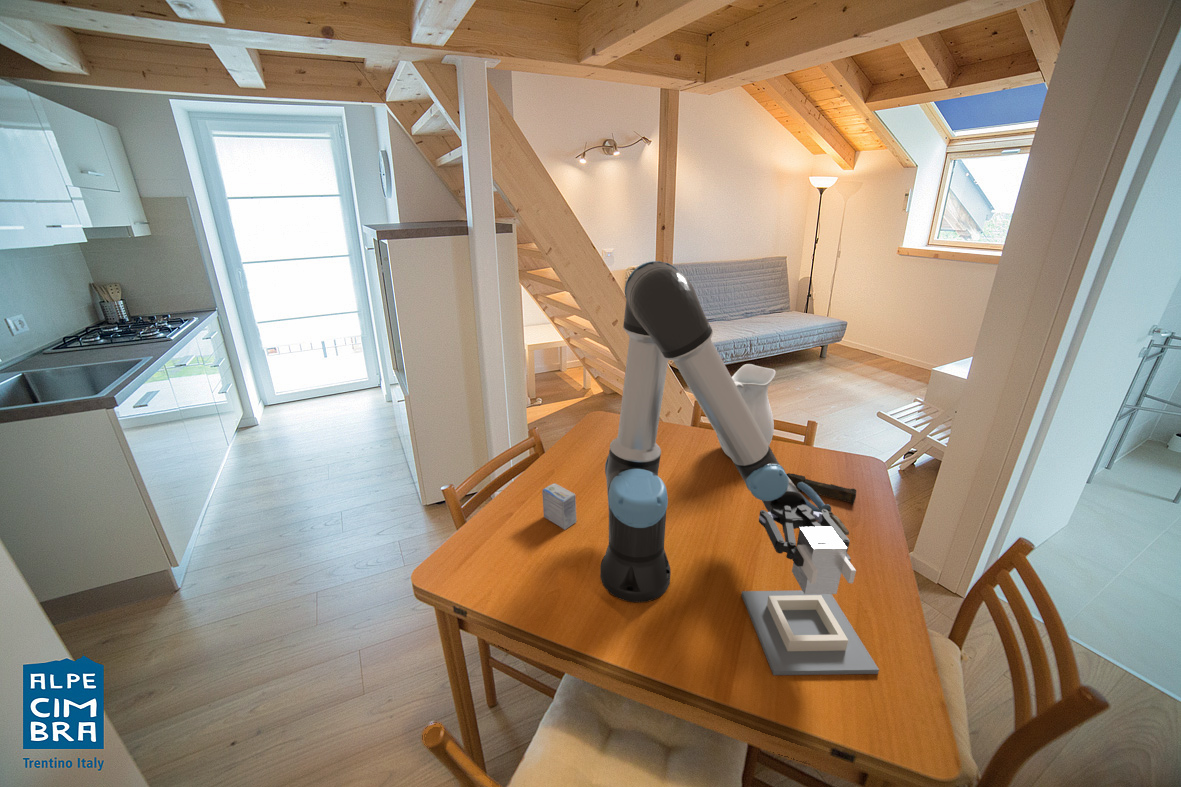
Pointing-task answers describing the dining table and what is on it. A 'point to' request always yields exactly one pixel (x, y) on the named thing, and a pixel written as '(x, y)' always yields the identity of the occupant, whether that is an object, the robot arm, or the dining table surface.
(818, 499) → the pliers
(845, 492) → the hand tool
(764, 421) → the pitcher
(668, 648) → the dining table surface
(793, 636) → the cradle
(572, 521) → the medicine box
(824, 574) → the tall square post
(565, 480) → the dining table surface
